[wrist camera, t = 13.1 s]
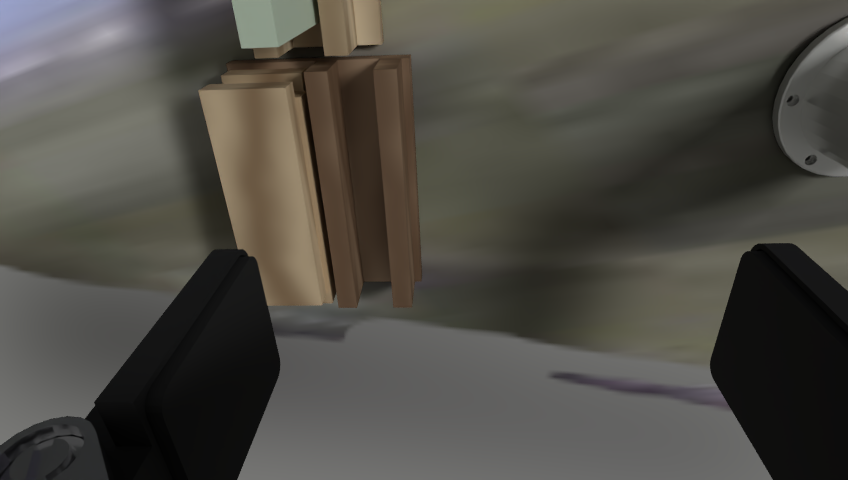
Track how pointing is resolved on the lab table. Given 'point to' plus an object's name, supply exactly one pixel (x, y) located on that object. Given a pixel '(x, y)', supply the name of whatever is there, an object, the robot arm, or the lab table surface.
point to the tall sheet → (273, 21)
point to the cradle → (337, 29)
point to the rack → (320, 174)
